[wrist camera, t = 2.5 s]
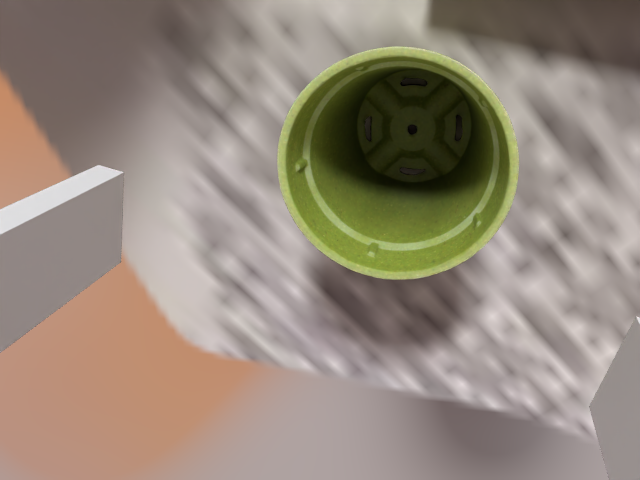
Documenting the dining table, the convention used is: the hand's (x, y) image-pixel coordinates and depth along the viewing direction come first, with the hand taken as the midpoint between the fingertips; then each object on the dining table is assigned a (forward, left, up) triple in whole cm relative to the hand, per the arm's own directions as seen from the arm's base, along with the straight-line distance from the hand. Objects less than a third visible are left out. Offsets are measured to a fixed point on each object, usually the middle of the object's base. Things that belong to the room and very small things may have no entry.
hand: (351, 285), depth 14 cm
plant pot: (0, 0, -18) cm, 18 cm away
